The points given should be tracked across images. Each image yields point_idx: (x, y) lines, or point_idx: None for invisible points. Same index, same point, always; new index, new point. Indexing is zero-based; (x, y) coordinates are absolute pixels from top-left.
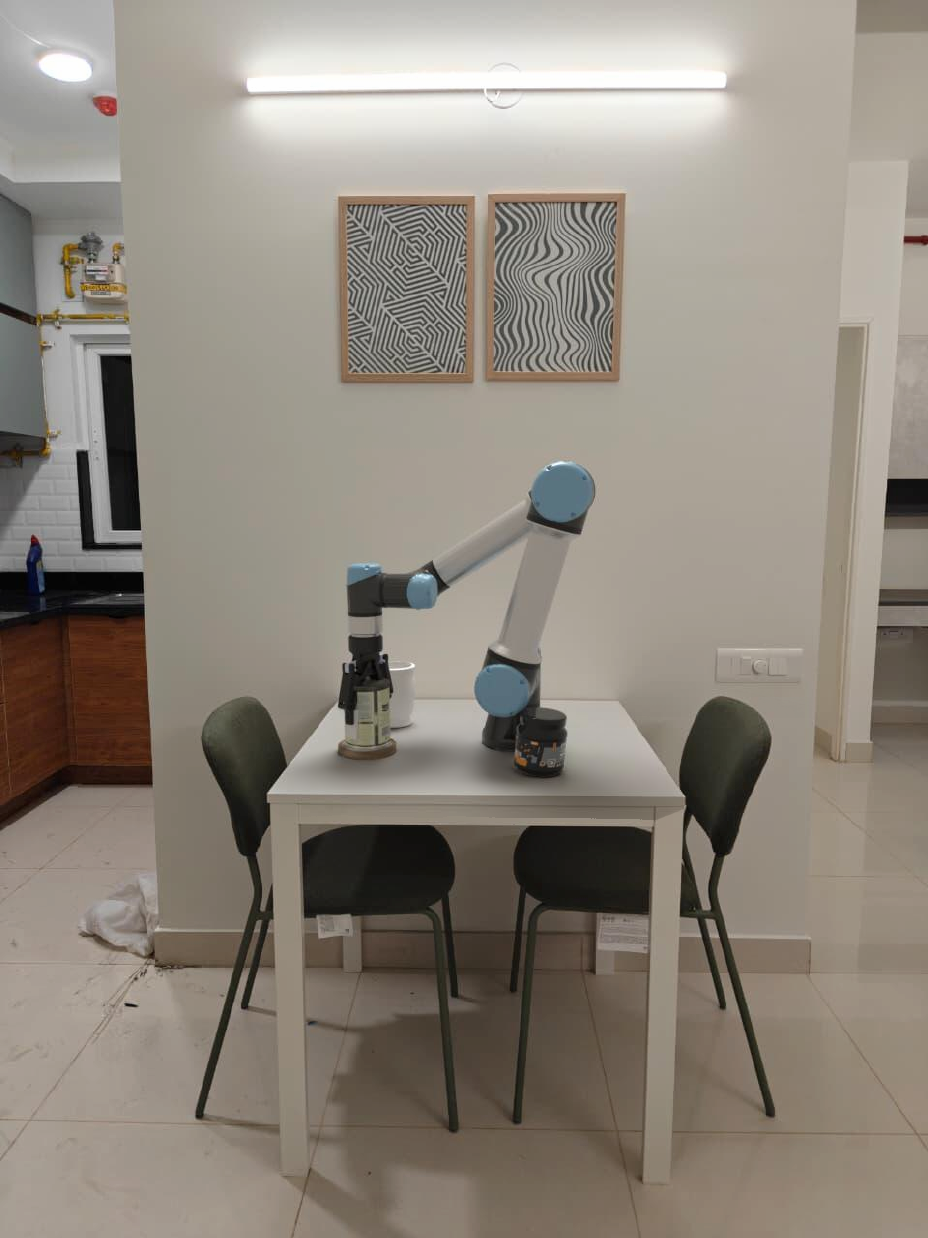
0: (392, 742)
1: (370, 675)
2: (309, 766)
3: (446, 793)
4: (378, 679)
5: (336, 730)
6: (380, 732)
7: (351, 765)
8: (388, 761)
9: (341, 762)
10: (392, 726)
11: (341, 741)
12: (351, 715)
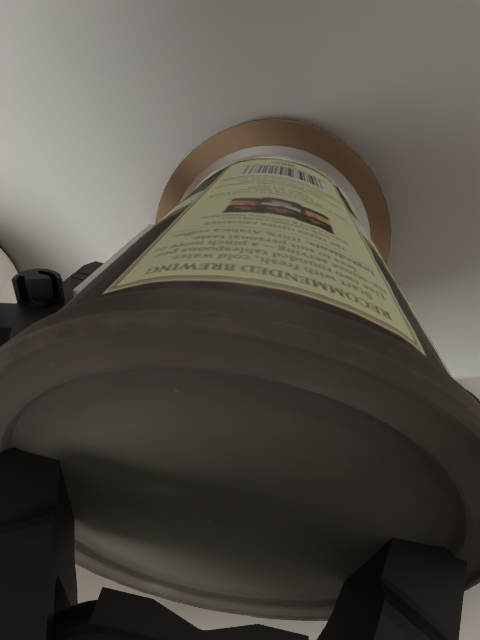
0: (213, 159)
1: (71, 566)
2: (467, 351)
3: None
4: (59, 470)
5: None
6: (329, 188)
7: (458, 232)
8: (393, 91)
9: (420, 279)
10: (8, 262)
11: None
12: None
